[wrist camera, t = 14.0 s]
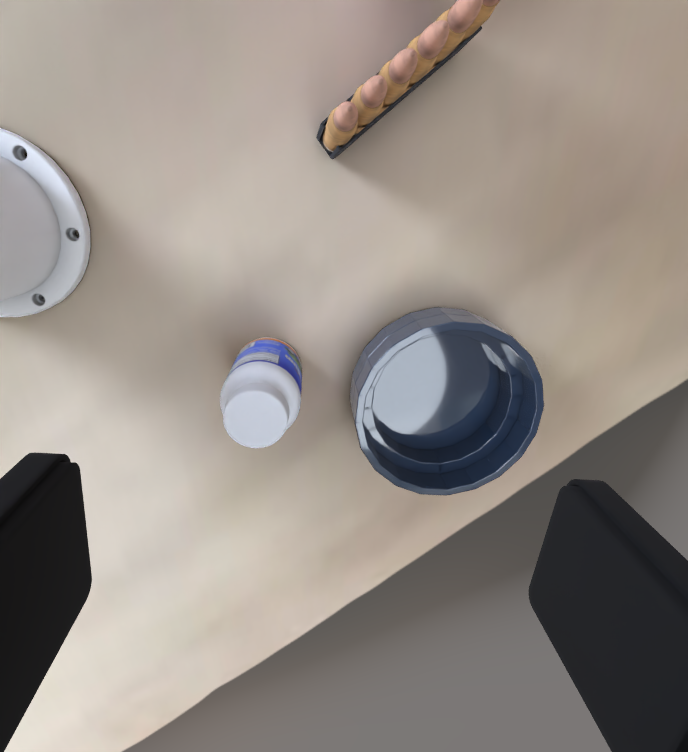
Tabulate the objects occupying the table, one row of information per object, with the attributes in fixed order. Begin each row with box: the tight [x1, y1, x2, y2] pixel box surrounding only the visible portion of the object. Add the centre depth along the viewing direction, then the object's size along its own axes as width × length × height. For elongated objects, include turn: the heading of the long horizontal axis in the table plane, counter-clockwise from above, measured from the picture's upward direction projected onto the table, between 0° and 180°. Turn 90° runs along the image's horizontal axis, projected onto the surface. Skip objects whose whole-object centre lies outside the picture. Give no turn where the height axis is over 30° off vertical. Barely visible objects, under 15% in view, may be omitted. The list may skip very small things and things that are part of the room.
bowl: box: [350, 307, 544, 495], centre depth 37 cm, size 14×14×5 cm
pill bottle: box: [220, 337, 302, 448], centre depth 33 cm, size 5×5×10 cm
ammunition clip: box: [316, 0, 500, 159], centre depth 26 cm, size 11×2×12 cm, turn 128°
